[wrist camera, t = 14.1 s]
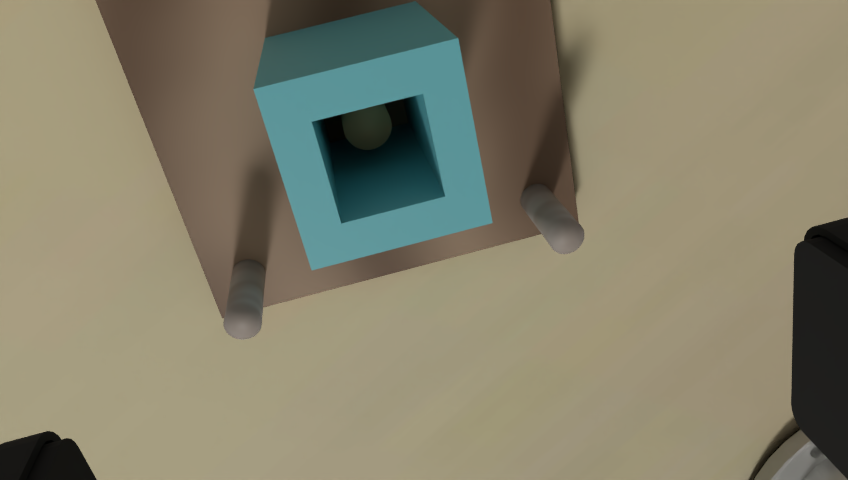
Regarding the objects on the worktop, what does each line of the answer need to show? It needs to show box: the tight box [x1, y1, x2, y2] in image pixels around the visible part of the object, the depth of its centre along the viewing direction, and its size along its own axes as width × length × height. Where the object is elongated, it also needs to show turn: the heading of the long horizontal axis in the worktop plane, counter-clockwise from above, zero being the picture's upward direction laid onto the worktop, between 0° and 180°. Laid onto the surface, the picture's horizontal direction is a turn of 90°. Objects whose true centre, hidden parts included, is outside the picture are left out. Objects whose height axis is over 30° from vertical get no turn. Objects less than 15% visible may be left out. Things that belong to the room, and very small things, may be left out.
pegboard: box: [96, 0, 584, 339], centre depth 23 cm, size 14×14×5 cm
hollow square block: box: [253, 1, 493, 270], centre depth 22 cm, size 5×5×7 cm
